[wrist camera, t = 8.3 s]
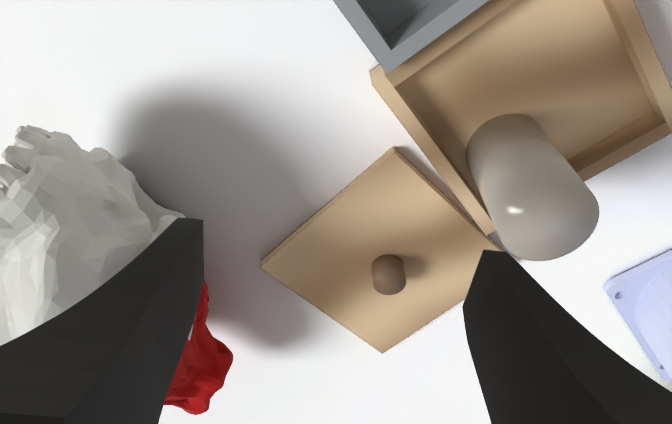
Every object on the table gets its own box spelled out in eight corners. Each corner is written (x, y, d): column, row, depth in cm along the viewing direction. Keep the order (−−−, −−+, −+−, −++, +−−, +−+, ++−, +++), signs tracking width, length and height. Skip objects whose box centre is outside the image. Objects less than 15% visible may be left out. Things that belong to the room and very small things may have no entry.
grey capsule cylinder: (558, 156, 23) (614, 230, 18) (489, 196, 24) (525, 275, 20) (523, 97, 21) (574, 162, 17) (451, 143, 23) (480, 215, 18)
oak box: (665, 108, 22) (686, 124, 21) (478, 216, 25) (486, 235, 24) (580, -84, 18) (599, -80, 17) (369, 70, 21) (371, 84, 20)
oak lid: (511, 258, 27) (522, 281, 25) (381, 345, 30) (383, 370, 29) (392, 146, 23) (397, 166, 22) (261, 260, 27) (257, 284, 25)
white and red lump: (66, 72, 21) (308, 269, 29) (-83, 218, 25) (168, 357, 33) (-41, 216, 14) (318, 423, 22) (-225, 390, 18) (138, 512, 26)
